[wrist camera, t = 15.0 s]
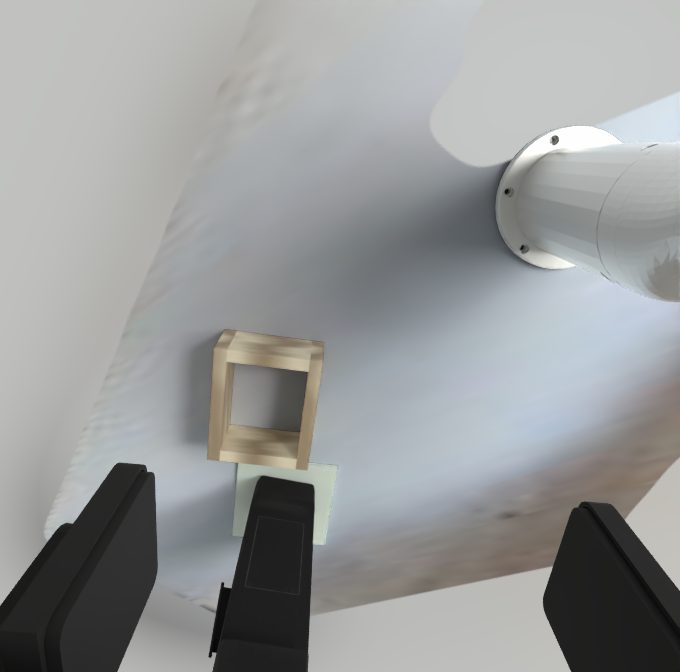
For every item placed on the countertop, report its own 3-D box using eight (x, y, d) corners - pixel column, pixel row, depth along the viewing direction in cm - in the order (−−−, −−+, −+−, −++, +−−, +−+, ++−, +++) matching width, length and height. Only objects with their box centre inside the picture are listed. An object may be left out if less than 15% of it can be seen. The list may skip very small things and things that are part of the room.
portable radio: (240, 515, 57) (177, 768, 33) (248, 472, 55) (187, 709, 31) (307, 526, 58) (291, 782, 34) (317, 484, 56) (308, 725, 32)
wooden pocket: (323, 342, 50) (323, 361, 45) (309, 443, 54) (307, 470, 50) (224, 329, 49) (213, 348, 45) (217, 432, 54) (207, 459, 49)
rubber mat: (337, 465, 55) (337, 467, 55) (324, 542, 59) (324, 545, 59) (239, 454, 55) (238, 456, 54) (232, 533, 58) (232, 535, 58)
